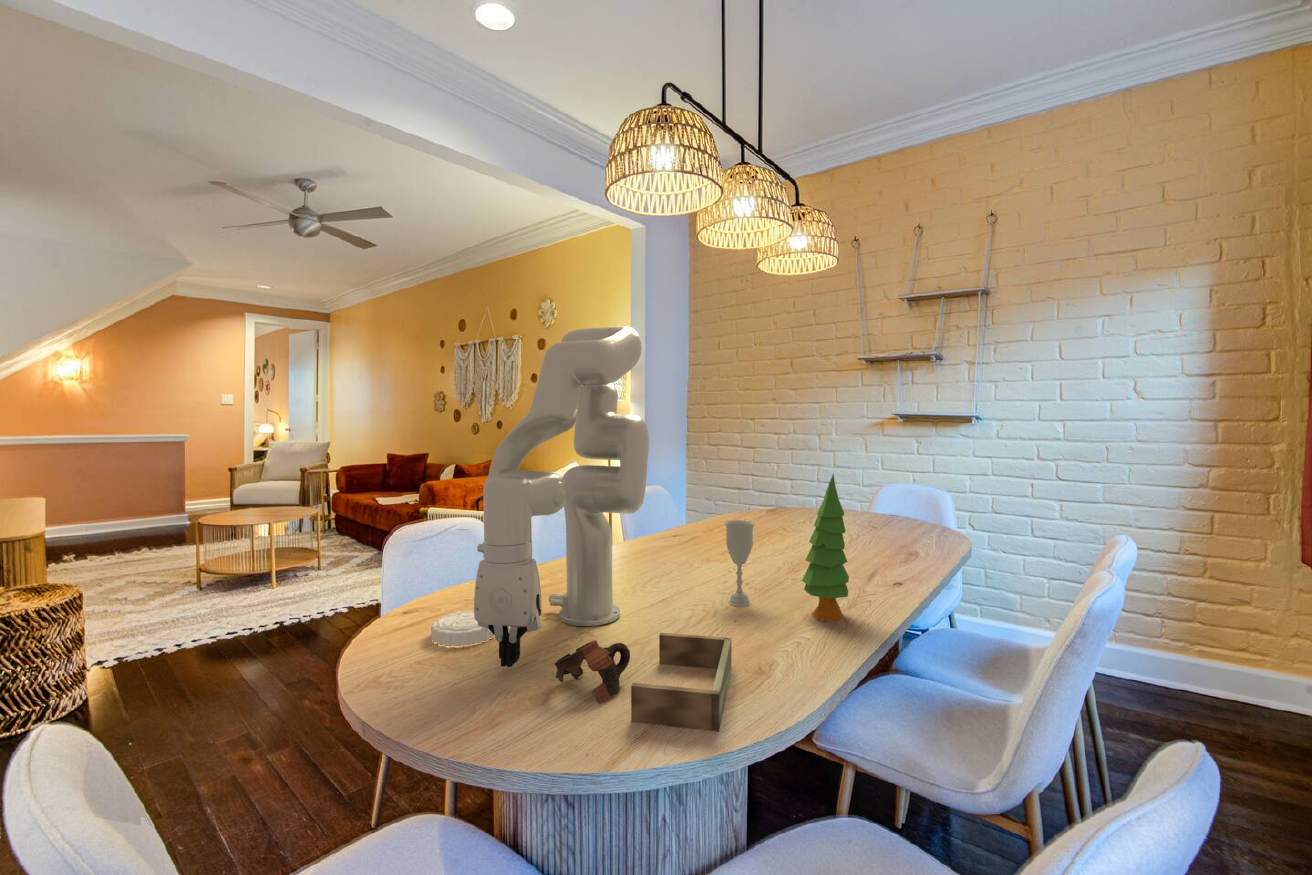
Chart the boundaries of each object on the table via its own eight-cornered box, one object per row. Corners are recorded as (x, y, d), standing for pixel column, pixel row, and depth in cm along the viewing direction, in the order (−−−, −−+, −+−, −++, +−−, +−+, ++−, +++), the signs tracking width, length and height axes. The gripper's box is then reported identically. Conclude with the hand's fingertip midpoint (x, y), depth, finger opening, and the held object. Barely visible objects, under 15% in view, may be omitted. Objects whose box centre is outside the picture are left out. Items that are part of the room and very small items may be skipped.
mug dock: (631, 721, 80) (631, 685, 80) (660, 661, 99) (660, 632, 99) (719, 731, 77) (719, 694, 77) (731, 667, 97) (731, 637, 97)
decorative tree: (847, 626, 115) (848, 475, 114) (798, 621, 119) (799, 474, 117) (849, 611, 124) (850, 471, 123) (804, 606, 128) (804, 470, 127)
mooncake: (490, 648, 106) (490, 629, 106) (422, 651, 105) (422, 631, 105) (502, 625, 118) (502, 607, 118) (441, 627, 117) (441, 609, 117)
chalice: (754, 609, 126) (754, 526, 125) (722, 607, 127) (722, 525, 127) (755, 598, 133) (755, 520, 132) (725, 597, 134) (725, 519, 134)
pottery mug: (584, 716, 82) (559, 661, 84) (563, 718, 90) (541, 668, 91) (650, 672, 89) (626, 623, 91) (625, 678, 97) (603, 632, 98)
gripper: (454, 555, 93) (455, 669, 93) (541, 560, 89) (543, 677, 90) (478, 545, 100) (479, 650, 101) (560, 549, 97) (561, 658, 97)
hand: (509, 663), depth 95 cm, fingers closed
